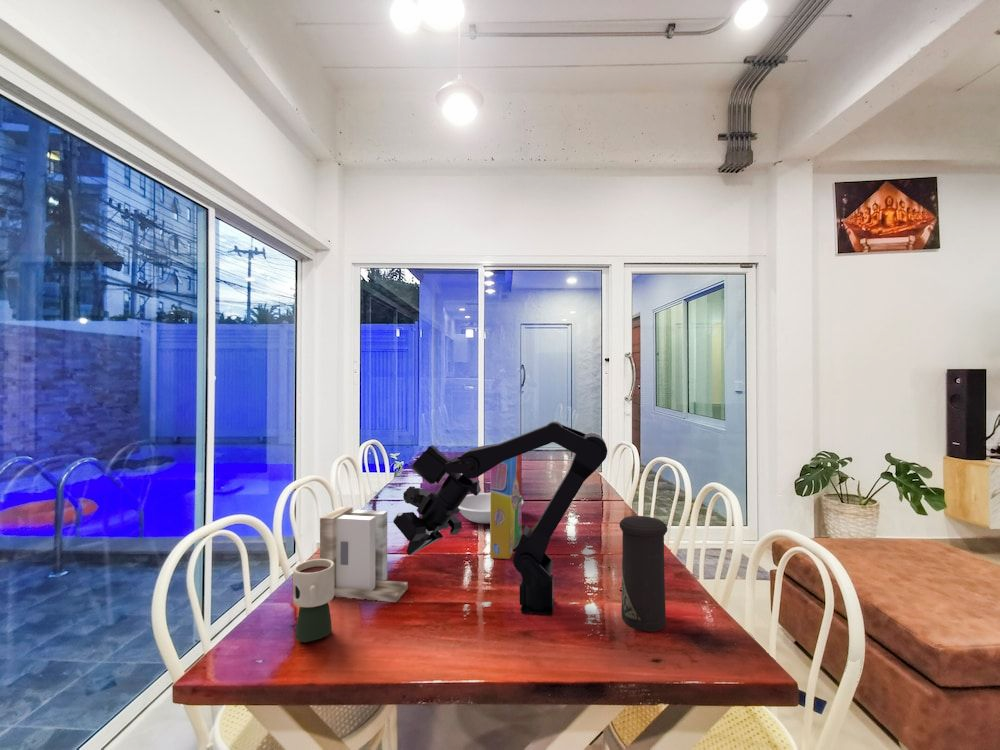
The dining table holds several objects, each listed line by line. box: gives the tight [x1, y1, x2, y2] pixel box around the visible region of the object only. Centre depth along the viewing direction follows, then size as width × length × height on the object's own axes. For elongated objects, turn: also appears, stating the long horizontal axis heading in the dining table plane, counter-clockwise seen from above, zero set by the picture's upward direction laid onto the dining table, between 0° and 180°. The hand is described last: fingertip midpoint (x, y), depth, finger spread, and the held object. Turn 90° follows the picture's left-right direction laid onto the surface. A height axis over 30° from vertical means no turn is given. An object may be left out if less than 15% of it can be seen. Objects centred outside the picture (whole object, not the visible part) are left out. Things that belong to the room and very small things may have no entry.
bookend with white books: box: [319, 506, 409, 603], centre depth 104 cm, size 18×10×17 cm, turn 80°
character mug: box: [292, 558, 335, 643], centre depth 85 cm, size 11×7×13 cm, turn 20°
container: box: [619, 515, 668, 632], centre depth 90 cm, size 9×9×20 cm
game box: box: [489, 454, 523, 560], centre depth 131 cm, size 21×6×27 cm, turn 168°
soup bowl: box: [458, 492, 524, 525], centre depth 155 cm, size 24×24×7 cm
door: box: [336, 515, 375, 590], centre depth 103 cm, size 8×3×16 cm, turn 80°
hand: (408, 553), depth 101 cm, fingers closed
